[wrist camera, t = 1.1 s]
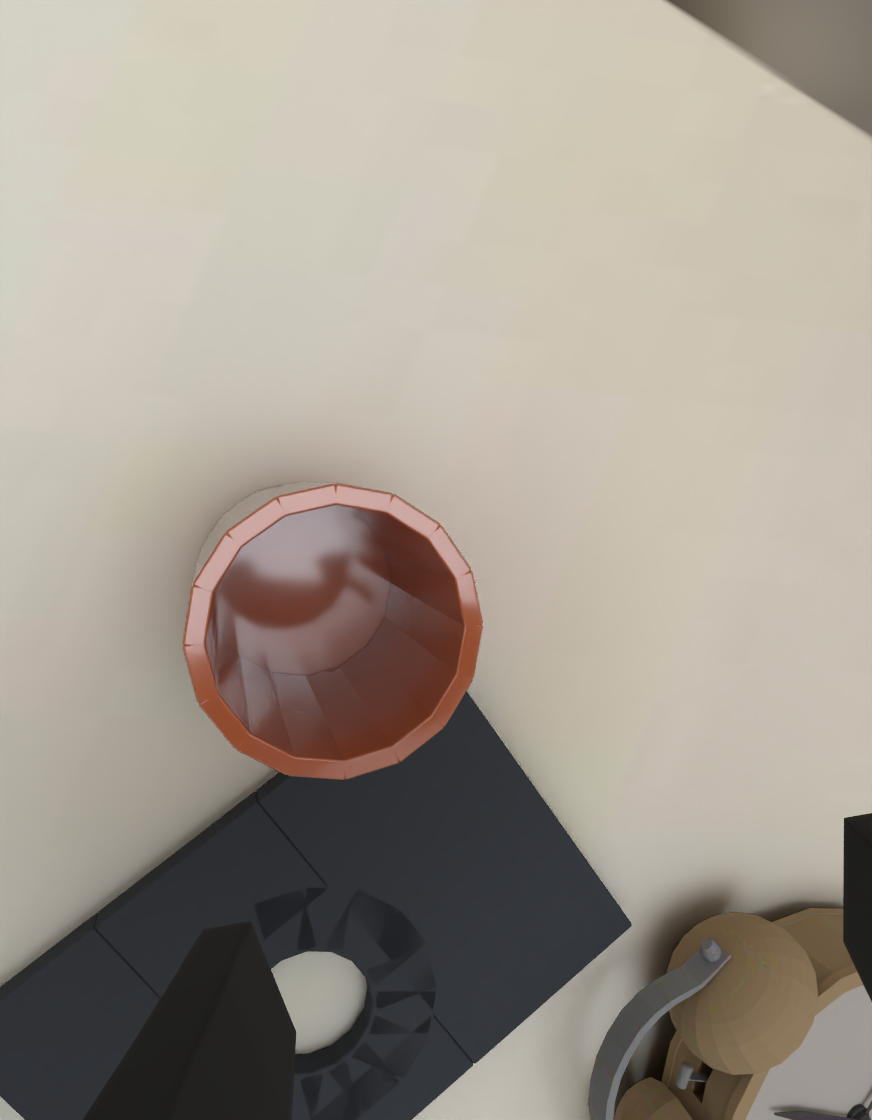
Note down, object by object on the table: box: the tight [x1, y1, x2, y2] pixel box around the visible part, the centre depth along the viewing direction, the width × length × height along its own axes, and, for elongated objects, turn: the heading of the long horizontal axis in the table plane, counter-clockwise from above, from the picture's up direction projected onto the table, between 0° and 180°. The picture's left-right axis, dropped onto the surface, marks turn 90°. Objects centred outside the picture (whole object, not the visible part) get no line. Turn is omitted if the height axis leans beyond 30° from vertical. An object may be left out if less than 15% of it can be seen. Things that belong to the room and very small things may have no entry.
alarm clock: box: [588, 908, 872, 1120], centre depth 26 cm, size 11×5×15 cm
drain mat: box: [0, 691, 631, 1120], centre depth 23 cm, size 16×11×1 cm
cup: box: [183, 482, 483, 780], centre depth 19 cm, size 6×6×8 cm
